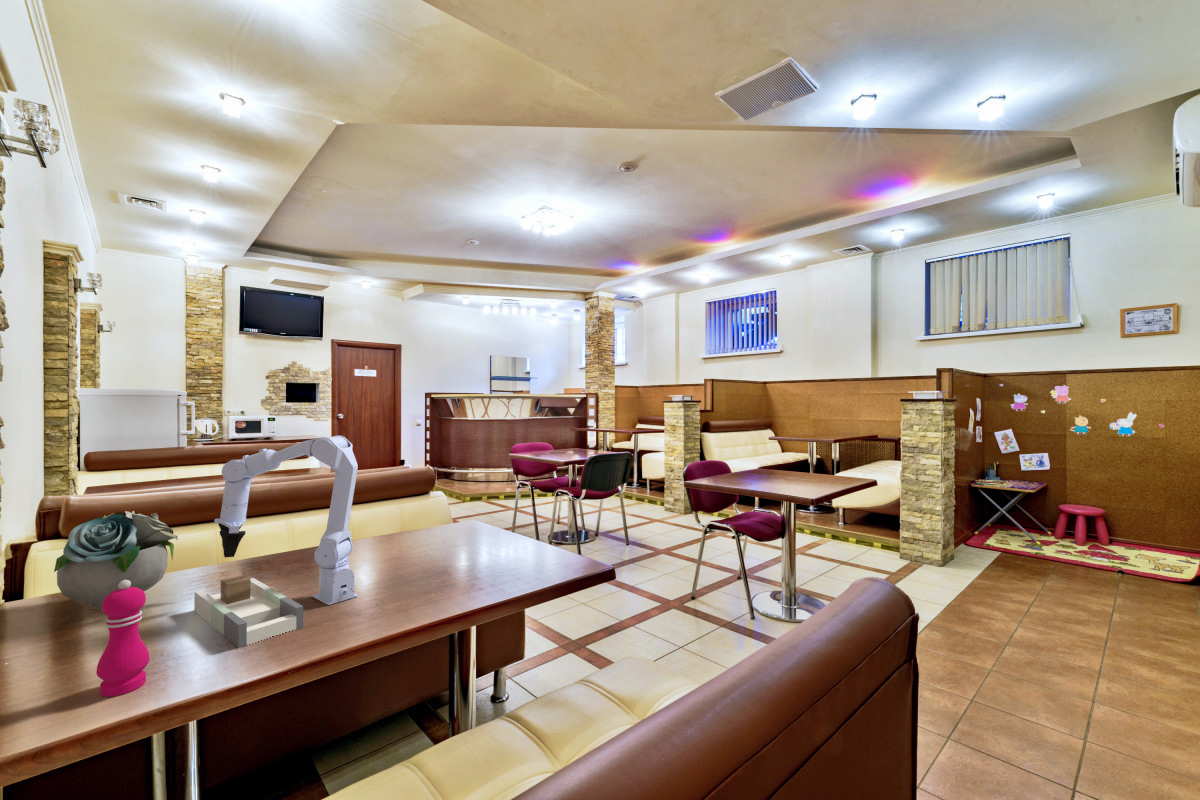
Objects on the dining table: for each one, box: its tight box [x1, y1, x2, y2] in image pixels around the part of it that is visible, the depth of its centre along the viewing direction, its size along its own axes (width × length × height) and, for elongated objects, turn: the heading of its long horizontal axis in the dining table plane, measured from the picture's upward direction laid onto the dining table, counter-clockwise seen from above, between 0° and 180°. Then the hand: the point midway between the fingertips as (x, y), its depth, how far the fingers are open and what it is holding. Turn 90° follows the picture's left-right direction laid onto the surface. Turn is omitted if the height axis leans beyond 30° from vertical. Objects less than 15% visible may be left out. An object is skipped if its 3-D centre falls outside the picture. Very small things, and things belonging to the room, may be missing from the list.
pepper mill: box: [95, 580, 150, 698], centre depth 94 cm, size 7×7×20 cm
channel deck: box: [193, 577, 304, 649], centre depth 124 cm, size 32×13×5 cm, turn 52°
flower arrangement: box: [53, 510, 179, 611], centre depth 133 cm, size 25×25×24 cm
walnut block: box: [220, 574, 251, 604], centre depth 129 cm, size 5×5×5 cm
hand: (228, 552), depth 138 cm, fingers open, 7 cm apart
